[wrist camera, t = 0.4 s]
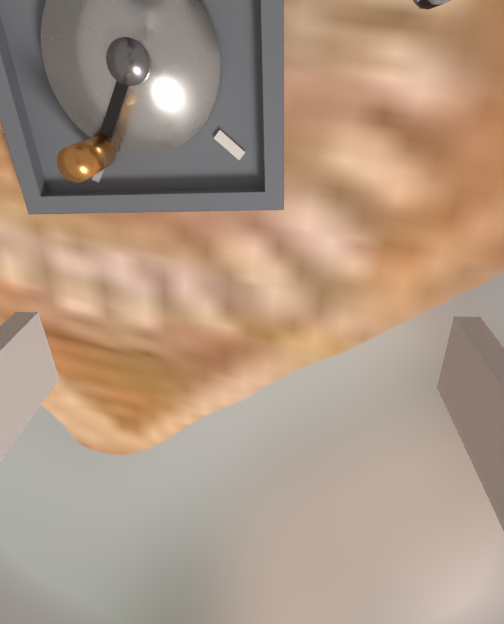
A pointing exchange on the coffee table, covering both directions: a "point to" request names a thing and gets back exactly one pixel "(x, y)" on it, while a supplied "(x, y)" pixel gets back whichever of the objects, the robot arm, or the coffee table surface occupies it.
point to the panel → (168, 166)
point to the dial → (130, 76)
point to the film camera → (429, 3)
